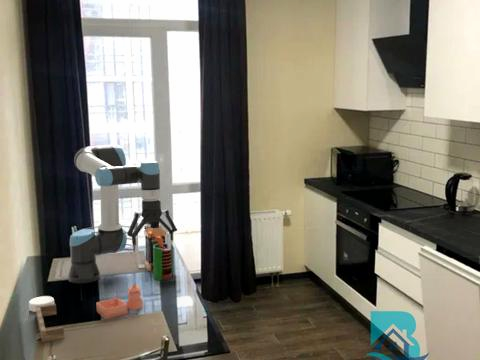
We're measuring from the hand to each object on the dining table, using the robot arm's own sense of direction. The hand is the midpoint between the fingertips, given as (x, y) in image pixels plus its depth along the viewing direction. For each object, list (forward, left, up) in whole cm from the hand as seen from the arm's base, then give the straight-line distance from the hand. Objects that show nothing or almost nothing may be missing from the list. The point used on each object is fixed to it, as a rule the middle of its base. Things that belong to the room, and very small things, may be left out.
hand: (153, 250), depth 214 cm
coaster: (-20, -43, -25) cm, 53 cm away
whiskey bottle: (-50, +15, -24) cm, 58 cm away
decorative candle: (-65, +18, -24) cm, 72 cm away
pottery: (-2, -13, -25) cm, 28 cm away
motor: (-35, +14, -24) cm, 45 cm away
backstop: (+2, -42, -24) cm, 48 cm away
